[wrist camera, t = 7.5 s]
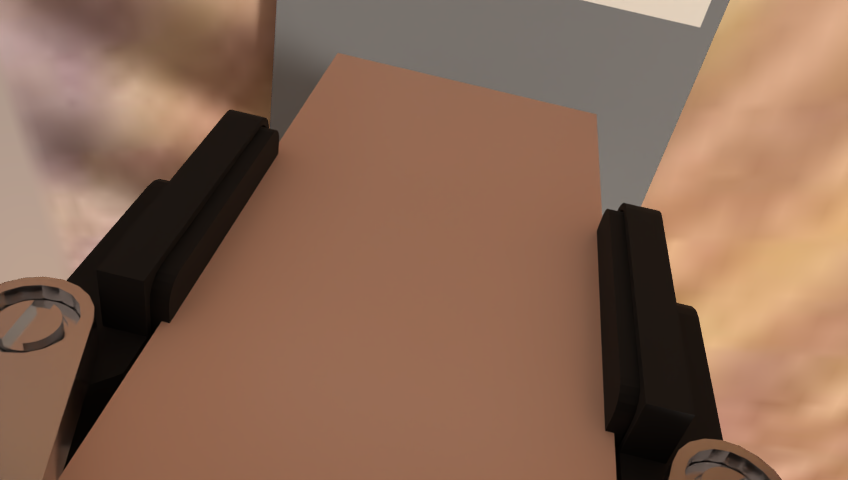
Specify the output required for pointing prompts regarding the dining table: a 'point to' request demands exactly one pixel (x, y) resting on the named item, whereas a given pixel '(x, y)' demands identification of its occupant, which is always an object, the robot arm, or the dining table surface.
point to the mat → (515, 63)
